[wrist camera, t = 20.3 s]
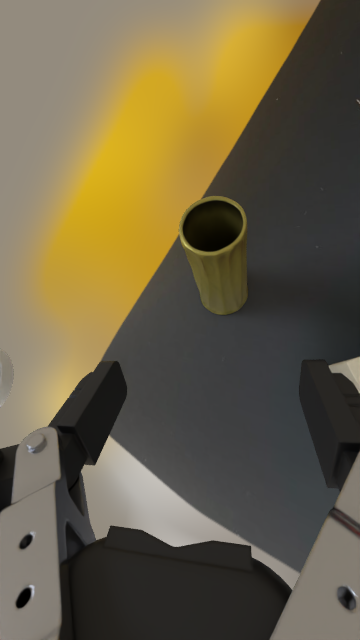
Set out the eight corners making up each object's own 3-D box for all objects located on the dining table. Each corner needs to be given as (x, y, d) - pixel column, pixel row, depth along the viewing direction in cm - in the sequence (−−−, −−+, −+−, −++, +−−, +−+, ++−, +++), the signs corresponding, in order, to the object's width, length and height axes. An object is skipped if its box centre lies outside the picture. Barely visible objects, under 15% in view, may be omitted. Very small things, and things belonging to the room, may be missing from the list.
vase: (208, 266, 34) (187, 186, 20) (253, 276, 32) (263, 195, 19) (194, 308, 33) (161, 251, 19) (240, 320, 31) (239, 268, 17)
